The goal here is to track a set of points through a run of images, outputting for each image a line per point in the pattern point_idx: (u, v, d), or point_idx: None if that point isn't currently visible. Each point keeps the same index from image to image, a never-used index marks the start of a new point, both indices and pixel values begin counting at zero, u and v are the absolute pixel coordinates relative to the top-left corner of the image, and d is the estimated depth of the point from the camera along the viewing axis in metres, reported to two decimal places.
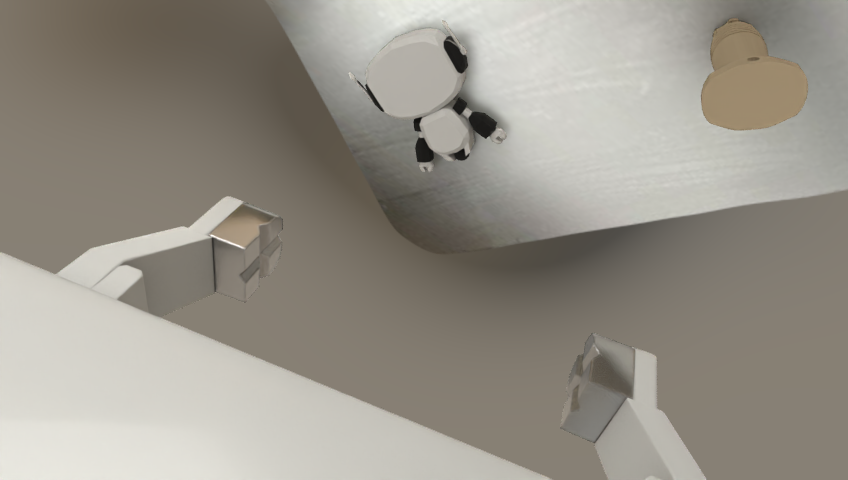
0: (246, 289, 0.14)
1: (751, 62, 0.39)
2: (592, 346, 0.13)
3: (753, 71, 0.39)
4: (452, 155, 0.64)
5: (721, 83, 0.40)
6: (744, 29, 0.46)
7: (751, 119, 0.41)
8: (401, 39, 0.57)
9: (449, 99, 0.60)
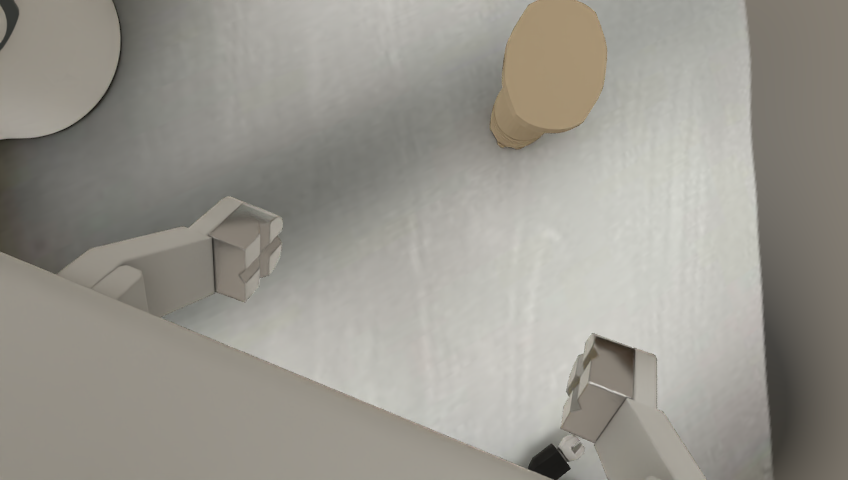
0: (246, 289, 0.14)
1: (505, 62, 0.28)
2: (592, 346, 0.13)
3: (518, 59, 0.28)
4: None
5: (525, 100, 0.28)
6: (494, 103, 0.38)
7: (589, 67, 0.28)
8: None
9: None
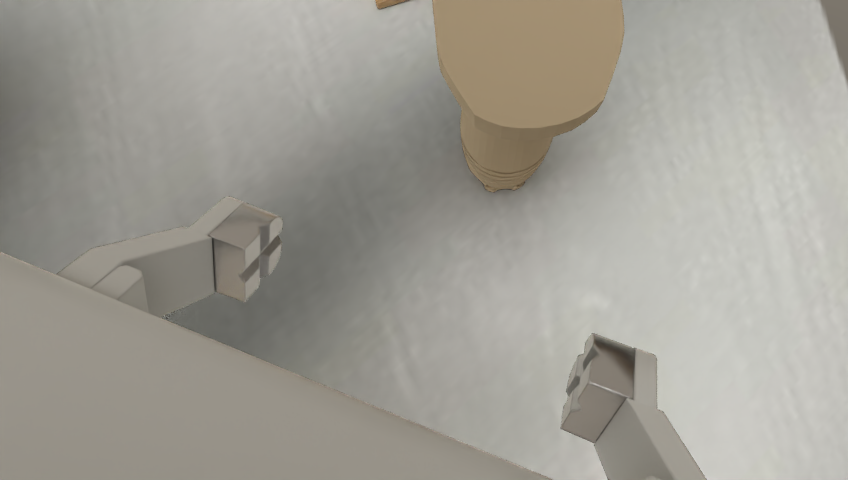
0: (246, 289, 0.14)
1: None
2: (592, 346, 0.13)
3: (457, 19, 0.15)
4: None
5: (486, 87, 0.15)
6: None
7: (590, 2, 0.15)
8: None
9: None
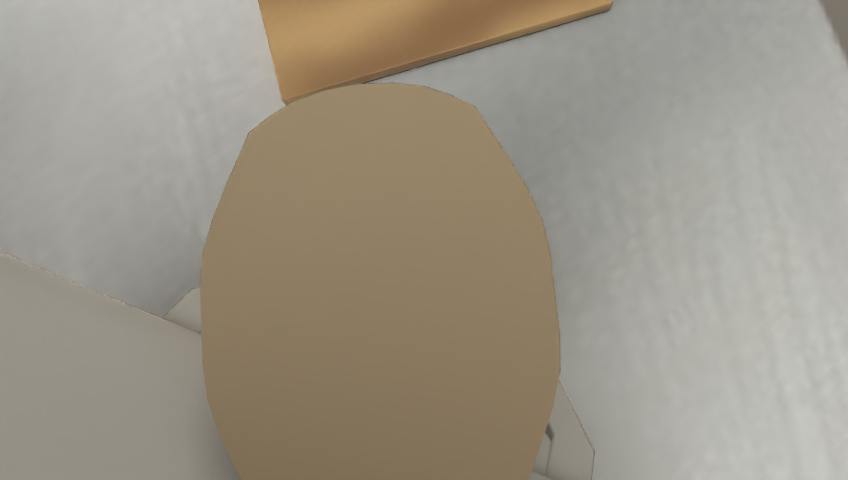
0: None
1: None
2: None
3: (244, 323, 0.08)
4: None
5: (291, 468, 0.08)
6: None
7: (497, 300, 0.08)
8: None
9: None
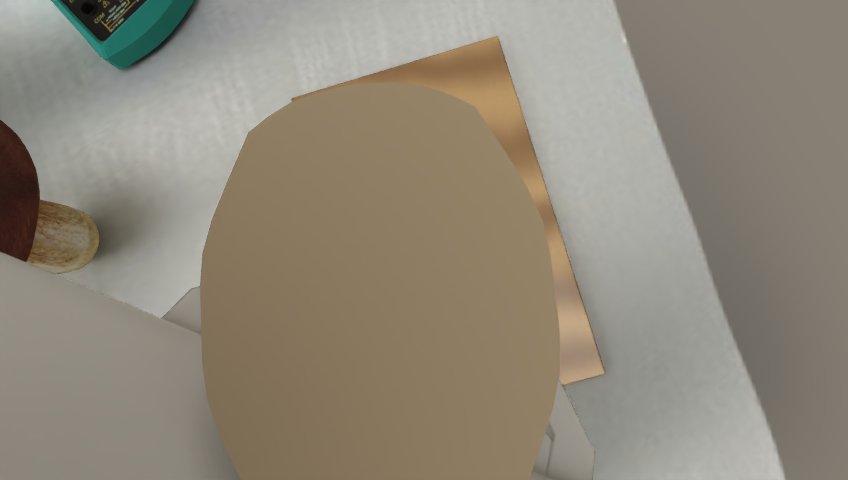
0: None
1: None
2: None
3: (244, 322, 0.08)
4: None
5: (291, 468, 0.08)
6: None
7: (497, 299, 0.08)
8: None
9: None
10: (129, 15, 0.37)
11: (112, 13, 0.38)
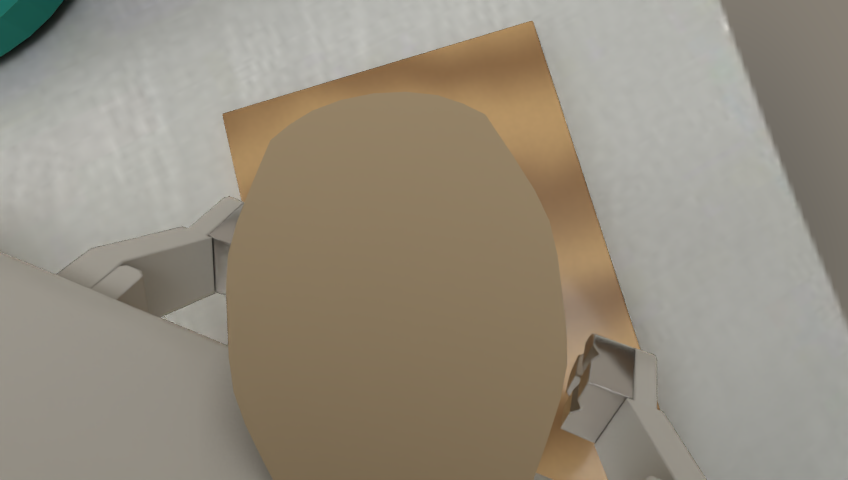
0: None
1: None
2: (592, 346, 0.13)
3: (268, 319, 0.08)
4: None
5: (314, 457, 0.08)
6: None
7: (507, 297, 0.08)
8: None
9: None
10: None
11: None
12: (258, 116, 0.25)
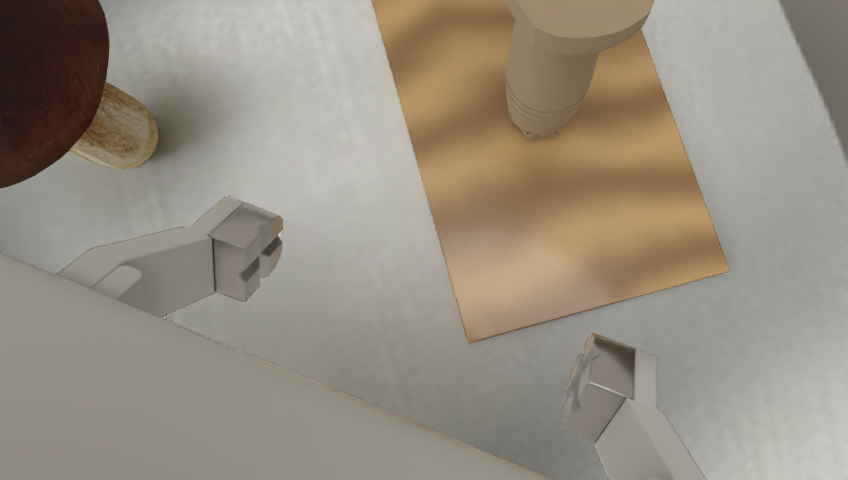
0: (246, 289, 0.14)
1: None
2: (592, 346, 0.13)
3: None
4: None
5: (546, 4, 0.17)
6: None
7: None
8: None
9: None
10: None
11: None
12: None
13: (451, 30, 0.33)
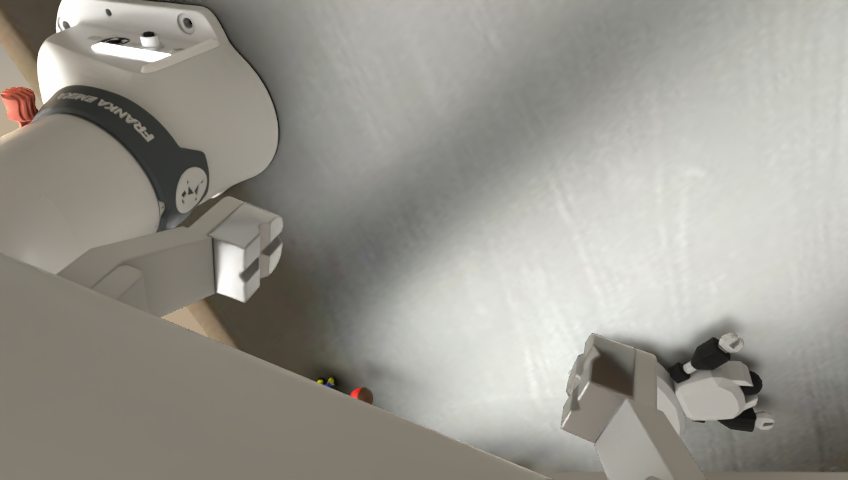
0: (246, 289, 0.14)
1: None
2: (592, 346, 0.13)
3: None
4: (750, 395, 0.49)
5: None
6: None
7: None
8: None
9: (663, 386, 0.50)
10: None
11: None
12: None
13: None
